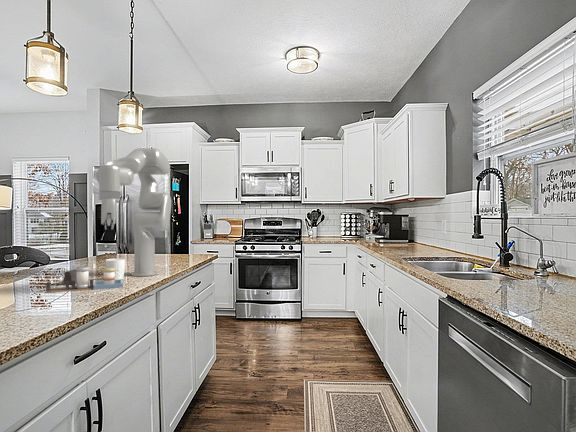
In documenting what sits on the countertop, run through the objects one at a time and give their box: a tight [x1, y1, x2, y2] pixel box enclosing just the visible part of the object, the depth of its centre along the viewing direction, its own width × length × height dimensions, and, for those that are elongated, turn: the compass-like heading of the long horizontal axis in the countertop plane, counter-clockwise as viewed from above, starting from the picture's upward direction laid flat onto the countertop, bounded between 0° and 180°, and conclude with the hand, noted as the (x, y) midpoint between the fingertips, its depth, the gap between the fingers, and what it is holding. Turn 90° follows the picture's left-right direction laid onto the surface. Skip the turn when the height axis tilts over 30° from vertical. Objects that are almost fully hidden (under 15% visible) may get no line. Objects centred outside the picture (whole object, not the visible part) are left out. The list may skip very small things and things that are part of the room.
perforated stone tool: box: [62, 269, 77, 286], centre depth 145 cm, size 15×5×7 cm, turn 5°
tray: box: [92, 278, 124, 291], centre depth 136 cm, size 10×10×3 cm
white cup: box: [105, 257, 126, 280], centre depth 154 cm, size 8×8×10 cm
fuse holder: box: [44, 278, 94, 294], centre depth 131 cm, size 10×15×4 cm, turn 116°
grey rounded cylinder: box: [75, 266, 90, 289], centre depth 133 cm, size 4×4×8 cm
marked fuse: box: [102, 267, 115, 285], centre depth 137 cm, size 4×4×8 cm
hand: (109, 239), depth 137 cm, fingers open, 9 cm apart
